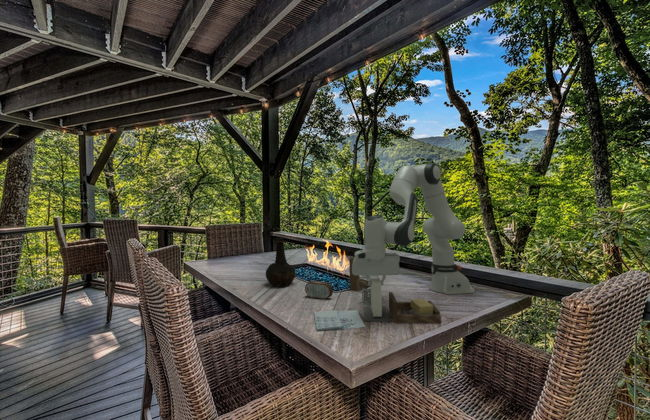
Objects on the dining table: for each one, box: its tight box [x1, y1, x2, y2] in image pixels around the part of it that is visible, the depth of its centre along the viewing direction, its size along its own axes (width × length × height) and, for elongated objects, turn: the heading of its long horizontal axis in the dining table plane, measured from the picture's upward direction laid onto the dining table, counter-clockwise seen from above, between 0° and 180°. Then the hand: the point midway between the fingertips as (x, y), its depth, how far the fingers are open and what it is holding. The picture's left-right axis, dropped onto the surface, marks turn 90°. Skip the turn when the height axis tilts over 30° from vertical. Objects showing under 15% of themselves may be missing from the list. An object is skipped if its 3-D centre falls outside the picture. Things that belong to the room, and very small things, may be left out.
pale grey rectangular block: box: [370, 276, 383, 317], centre depth 137 cm, size 4×11×14 cm, turn 176°
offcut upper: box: [410, 298, 433, 314], centre depth 135 cm, size 6×9×3 cm, turn 9°
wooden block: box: [348, 256, 368, 292], centre depth 175 cm, size 9×4×18 cm, turn 75°
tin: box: [304, 280, 334, 300], centre depth 162 cm, size 15×3×8 cm, turn 65°
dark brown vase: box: [265, 237, 296, 287], centre depth 190 cm, size 18×18×28 cm
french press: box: [357, 275, 380, 308], centre depth 152 cm, size 10×12×25 cm
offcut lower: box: [411, 308, 433, 315], centre depth 135 cm, size 6×9×3 cm, turn 1°
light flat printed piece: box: [313, 309, 366, 332], centre depth 132 cm, size 19×20×2 cm
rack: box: [388, 291, 442, 324], centre depth 136 cm, size 18×17×8 cm
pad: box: [363, 307, 391, 323], centre depth 137 cm, size 10×14×1 cm
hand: (375, 285), depth 136 cm, fingers closed on pale grey rectangular block, 3 cm apart
